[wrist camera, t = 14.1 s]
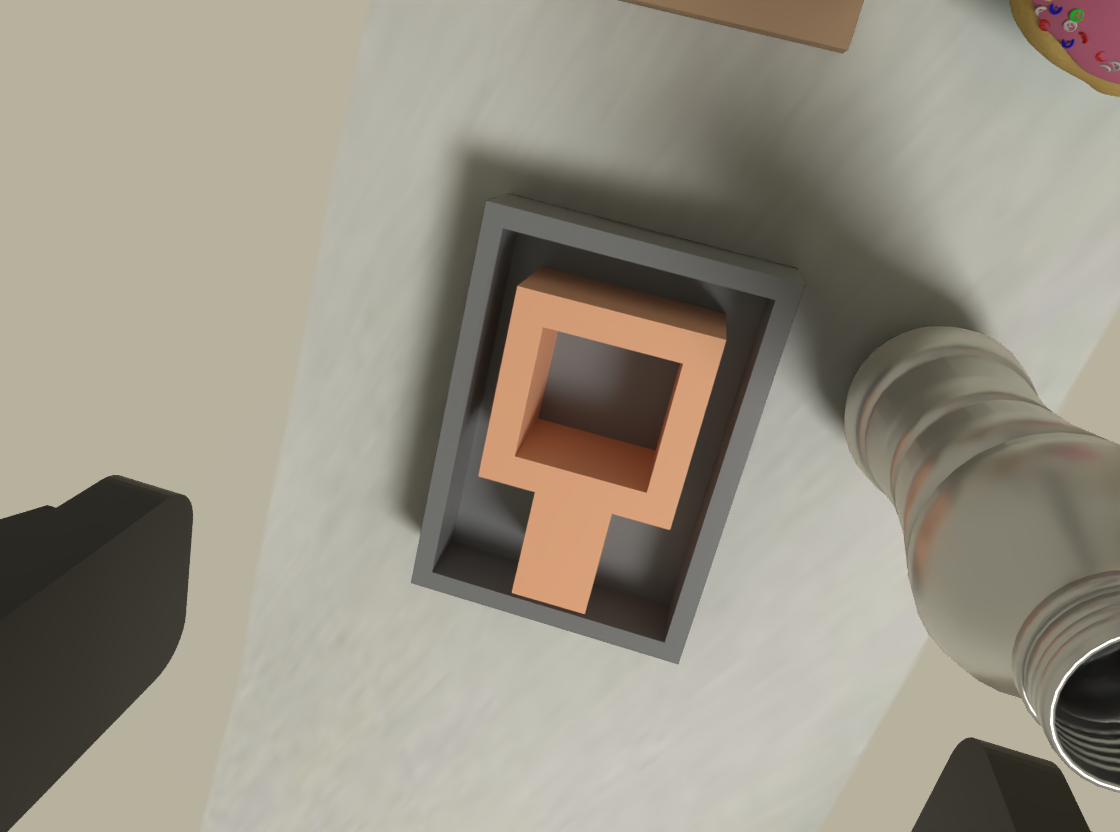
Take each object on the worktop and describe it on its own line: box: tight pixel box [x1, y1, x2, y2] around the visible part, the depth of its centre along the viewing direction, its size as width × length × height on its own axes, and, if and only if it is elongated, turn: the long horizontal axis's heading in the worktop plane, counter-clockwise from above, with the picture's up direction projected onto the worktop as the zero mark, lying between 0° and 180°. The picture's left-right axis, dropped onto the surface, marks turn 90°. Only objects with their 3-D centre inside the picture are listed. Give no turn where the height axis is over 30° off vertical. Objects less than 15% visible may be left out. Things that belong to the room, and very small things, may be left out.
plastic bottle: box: [844, 326, 1120, 793], centre depth 25 cm, size 6×7×20 cm
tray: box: [411, 193, 805, 664], centre depth 36 cm, size 16×12×4 cm
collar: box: [478, 267, 726, 614], centre depth 35 cm, size 12×8×4 cm, turn 167°
